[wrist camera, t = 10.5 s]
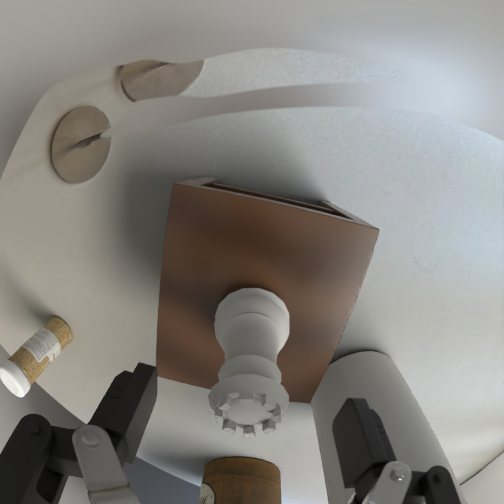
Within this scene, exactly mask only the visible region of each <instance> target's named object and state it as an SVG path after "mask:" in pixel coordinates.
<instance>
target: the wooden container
mask: <svg viewBox="0 0 504 504" xmlns="http://www.w3.org/2000/svg"><path fill="white" fill-rule="evenodd" d="M198 504H281V481H280V471H279V469H278V468H277V467H276V466H275V465H273V464H271V463H269V462H266V461H263V460H259V459H253V458H242V457H231V458H222V459H217V460H214V461H212V462H210V463H208V464H207V465H206V466H205V469H204V474H203V480H202V485H201V490H200V496H199V503H198Z"/></svg>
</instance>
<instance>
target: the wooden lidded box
mask: <svg viewBox="0 0 504 504" xmlns="http://www.w3.org/2000/svg"><path fill="white" fill-rule="evenodd" d="M221 180H222V178H219V177H214V176H208V177H202V178H197V179H192V180H187V181H182V182H176V183H173V187H172V193H171V199H170V206H169V213H168V220H167V227H166V235H165V243H164V251H163V260H162V270H161V281H160V293H159V307H158V324H157V348H156V367H157V376H159V377H162V378H166V379H170V380H174V381H177V382H181V383H186V384H190V385H194V386H198V387H203V388H207V389H212V387H213V386H214V385H215V384H217V383H218V382H219V377H218V373H219V371H220V368H221V366H222V365H223V364H224V363H225V352H224V350H223V349H222V347H221V346H220V344H219V342H218V341H217V339H216V335H215V327H214V322H215V314H216V312H217V309H218V306H219V304H220V303H221V302H222V301H223V300H224V299H225V298H226V297H227V296H228V295H229V294H230V293H233V292H235V291H238V290H240V289H243V288H260V289H263V290H266V291H269V292H272V293H274V294H275V295H276V296H277V297H278V298H280V299H281V300H282V301H283V302H284V304H285V306H286V308H287V310H288V312H289V322H290V323H289V336H288V339H287V341H286V342H285V344H284V346H283V348H282V349H281V350H280V351H279V353H278V354H277V361H276V365H277V366H278V368H279V370H280V372H281V383H280V384H281V385H282V386H283V387H284V388H285V390H286V392H287V393H288V395H289V401H291V402H301V403H310V402H311V400H312V398H313V396H314V394H315V392H316V390H317V388H318V386H319V384H320V382H321V380H322V378H323V376H324V374H325V372H326V370H327V368H328V366H329V363H330V361H331V359H332V357H333V355H334V352H335V350H336V348H337V346H338V343H339V341H340V339H341V336H342V334H343V332H344V329H345V327H346V324H347V322H348V320H349V317H350V315H351V312H352V309H353V307H354V304H355V302H356V299H357V296H358V294H359V291H360V288H361V285H362V283H363V280H364V277H365V274H366V271H367V268H368V265H369V262H370V259H371V256H372V253H373V250H374V247H375V243H376V240H377V237H378V234H379V229H378V228H376V227H374V226H372V225H371V224H369V223H367V222H365V221H364V220H362V219H360V218H358V217H356V216H354V215H353V214H351V213H349V212H347V211H345V210H343V209H341V208H339V207H338V206H336V205H334V204H332V203H330V202H326V201H322V200H319V204H318V206H316V205H312V204H308V203H304V202H300V201H296V200H292V199H287V198H283V197H279V196H274V195H270V194H265V193H261V192H256V191H251V190H246V189H242V188H237V187H232V186H227V185H222V184H221Z"/></svg>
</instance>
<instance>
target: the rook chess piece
mask: <svg viewBox="0 0 504 504" xmlns="http://www.w3.org/2000/svg"><path fill="white" fill-rule="evenodd" d="M289 323H290V322H289V312H288V310H287V308H286V306H285V304H284V302H283V301H282V300H281V299H280V298H278V297H277V296H276V295H275V294H274V293H272V292H269V291H266V290H263V289H260V288H243V289H240V290H238V291H235V292H233V293H230V294H229V295H228V296H227V297H226V298H225V299H224V300H223V301H222V302H221V303H220V304H219V306H218V309H217V312H216V314H215V322H214V327H215V335H216V339H217V341H218V342H219V344H220V346H221V347H222V349H223V350H224V352H225V363H224V364H223V365H222V366H221V368H220V371H219V373H218V377H219V382H218V383H217V384H215V385H214V386H213V387H212V389H211V391H210V394H209V396H208V398H209V403H210V407H211V408H212V409H213V410H214V411H215V419H216V423H220V422H223V430H225V431H227V432H228V433H230V434H233V433H234V432H235V430H236V427H238V428H243V429H244V436H243V437H256V429H257V428H261V427H263V432H264V433H266V434H268V433H270V432H272V431H273V430H275V429H276V428H275V422H278V423H281V415H282V414H283V413H284V412H285V410H286V409H287V407H288V406H289V395H288V393H287V392H286V390H285V388H284V387H283V386H282V385H281V384H280V383H281V372H280V370H279V368H278V366H277V365H276V361H277V354H278V353H279V351H280V350H281V349H282V348H283V346H284V344H285V342H286V341H287V339H288V336H289Z"/></svg>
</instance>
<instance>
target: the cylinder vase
mask: <svg viewBox="0 0 504 504" xmlns="http://www.w3.org/2000/svg"><path fill="white" fill-rule="evenodd" d="M347 398H365V399H366V401H367V403H368V405H369V408H370V409H374V410H375V412H376V413H377V414H378V415H379V416H380V418H381V420H382V423H383V425H384V426H383V427H384V428H385V430H386V435H388V438H389V441H390V443H391V446H392V448H393V451H394V454H395V456H396V459H397V461H400V462H403V463H405V464H406V465H407V466H408V467H409V468H410V470H411V471H421V472H427V471H428V470H429V469H430V468H431V467H433V466H436V465H440V466H443V467H445V468H446V469H447V470H448V471H449V472H450V474H451V477H452V479H453V482H454V485H455V487H456V490H457V493H458V496H459V499H460V502H461V504H467V502H466V499H465V497H464V495H463V492H462V490H461V488H460V485H459V483H458V481H457V479H456V477H455V474H454V472H453V470H452V468H451V466H450V464H449V462H448V460H447V458H446V456H445V454H444V452H443V450H442V448H441V446H440V444H439V442H438V440H437V438H436V436H435V434H434V432H433V430H432V428H431V426H430V424H429V422H428V421H427V419H426V417H425V415H424V413H423V411H422V410H421V408H420V406H419V404H418V402H417V401H416V399H415V397H414V395H413V393H412V392H411V390H410V388H409V387H408V385H407V383H406V381H405V380H404V378H403V376H402V375H401V373H400V371H399V369H398V368H397V366H396V364H395V363H394V361H393V360H392V359H391V358H390V357H388V356H387V355H385V354H383V353H380V352H374V351H363V352H357V353H353V354H350V355H347V356H344V357H342V358H340V359H338V360H336V361H335V362H333V363H332V364H330V365H329V366H328V368H327V370H326V372H325V374H324V376H323V378H322V380H321V382H320V384H319V386H318V388H317V390H316V392H315V394H314V396H313V398H312V400H311V405H312V410H313V415H314V421H315V426H316V432H317V437H318V443H319V448H320V454H321V460H322V466H323V471H324V477H325V484H326V490H327V496H328V502H329V504H347V503H348V501H349V499H350V498H351V496H352V495H353V494H354V493H355V489H354V488H349V489H345V488H344V483H343V478H342V473H341V468H340V464H339V459H338V455H337V450H336V446H335V441H334V437H333V432H332V423H333V420H334V418H335V416H336V415H337V413H338V412H339V410H340V409H341V407H342V405H343V404H344V402H345V400H346V399H347ZM425 504H426V503H425Z"/></svg>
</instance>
